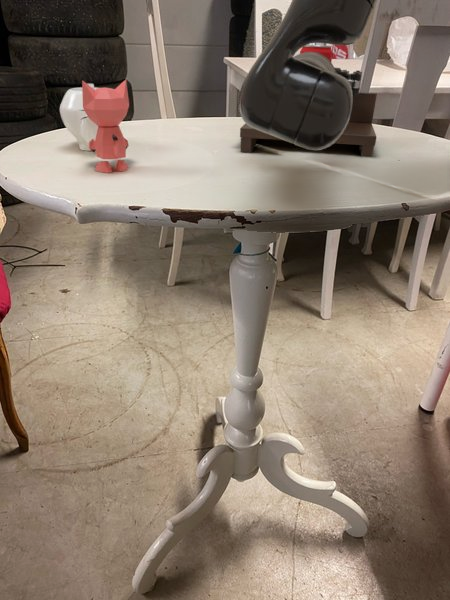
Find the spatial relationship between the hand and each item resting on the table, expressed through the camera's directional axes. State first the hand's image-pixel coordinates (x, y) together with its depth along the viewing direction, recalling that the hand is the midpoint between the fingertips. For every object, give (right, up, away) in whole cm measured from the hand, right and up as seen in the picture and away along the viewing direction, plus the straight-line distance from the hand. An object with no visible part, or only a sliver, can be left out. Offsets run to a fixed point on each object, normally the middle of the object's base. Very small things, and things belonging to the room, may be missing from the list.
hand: (312, 76), depth 72 cm
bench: (+1, -8, +11) cm, 13 cm away
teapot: (-36, -9, +8) cm, 38 cm away
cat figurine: (-30, -16, -4) cm, 34 cm away
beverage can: (+1, -4, +9) cm, 10 cm away
